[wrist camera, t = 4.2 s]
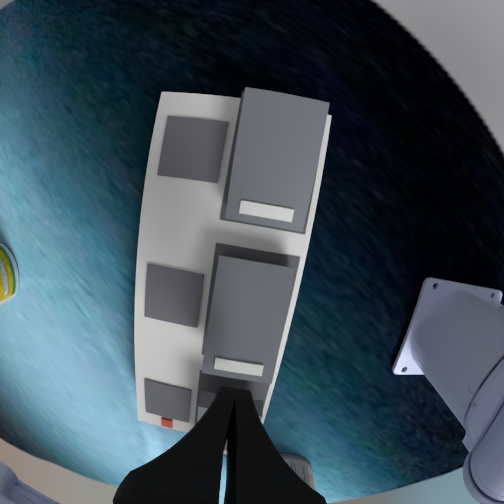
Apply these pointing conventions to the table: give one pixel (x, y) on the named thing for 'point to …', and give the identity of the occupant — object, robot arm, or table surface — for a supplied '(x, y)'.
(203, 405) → the rocker
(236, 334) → the rocker
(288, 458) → the aerosol can
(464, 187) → the table surface
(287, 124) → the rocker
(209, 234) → the power strip
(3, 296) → the supplement bottle
